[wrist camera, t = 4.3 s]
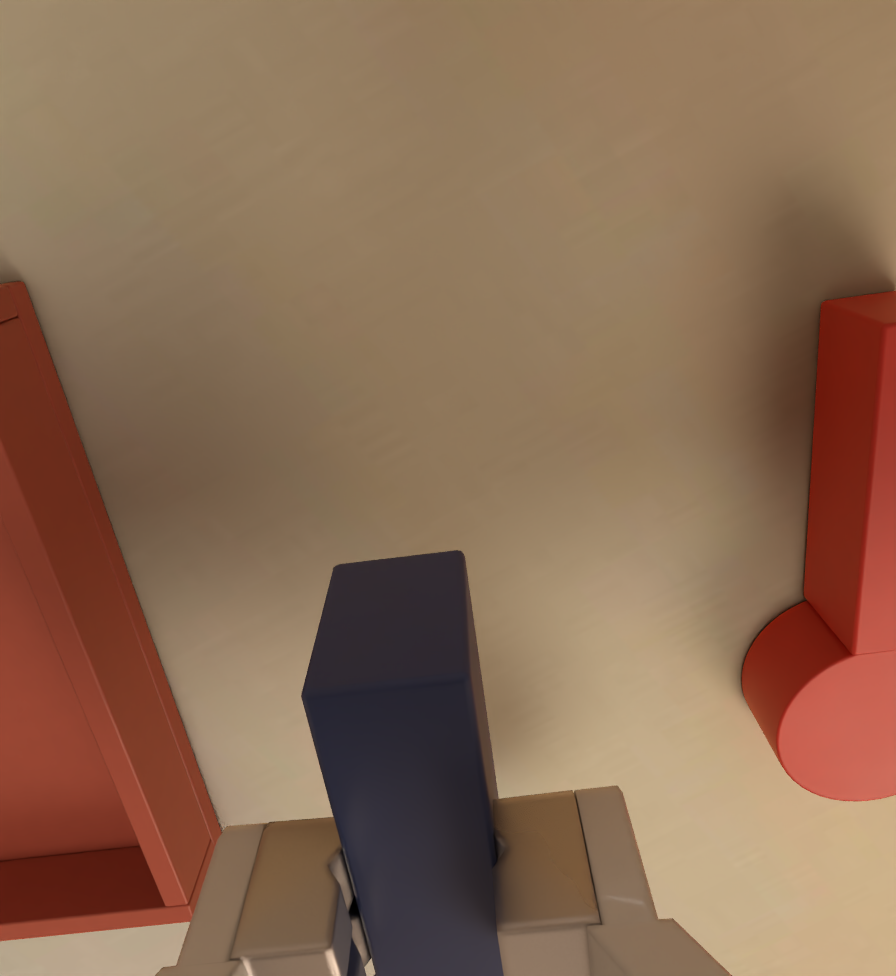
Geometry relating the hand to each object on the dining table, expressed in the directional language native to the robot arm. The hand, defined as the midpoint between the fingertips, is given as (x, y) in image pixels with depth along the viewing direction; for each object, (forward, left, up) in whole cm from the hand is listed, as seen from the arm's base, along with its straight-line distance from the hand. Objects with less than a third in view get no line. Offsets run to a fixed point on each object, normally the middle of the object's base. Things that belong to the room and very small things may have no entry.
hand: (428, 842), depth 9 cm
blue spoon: (+2, 0, -2) cm, 3 cm away
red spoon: (+1, +9, -9) cm, 13 cm away
